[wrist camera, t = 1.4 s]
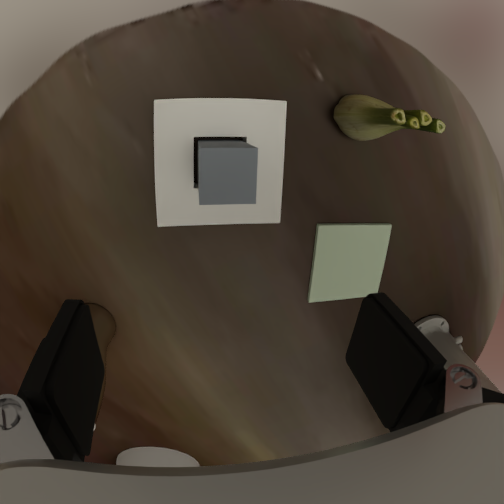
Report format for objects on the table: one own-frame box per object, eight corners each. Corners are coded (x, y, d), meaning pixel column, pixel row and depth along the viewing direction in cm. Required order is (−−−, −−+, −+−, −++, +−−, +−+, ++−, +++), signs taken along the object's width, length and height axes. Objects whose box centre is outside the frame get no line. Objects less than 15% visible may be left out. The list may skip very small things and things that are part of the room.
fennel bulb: (380, 114, 31) (453, 121, 20) (361, 149, 32) (430, 169, 21) (340, 84, 29) (409, 76, 18) (320, 121, 30) (382, 127, 19)
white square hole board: (279, 102, 29) (286, 101, 27) (274, 215, 34) (280, 222, 31) (157, 101, 27) (154, 99, 24) (160, 218, 32) (157, 226, 29)
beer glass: (79, 289, 33) (36, 379, 19) (128, 318, 36) (107, 416, 22) (62, 326, 34) (24, 414, 21) (107, 352, 37) (86, 444, 24)
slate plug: (238, 139, 30) (258, 148, 21) (237, 178, 31) (256, 204, 22) (197, 139, 29) (199, 147, 20) (197, 179, 31) (199, 205, 22)
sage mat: (389, 223, 37) (391, 225, 36) (374, 293, 41) (376, 295, 40) (316, 223, 35) (318, 225, 34) (307, 300, 39) (308, 302, 38)
